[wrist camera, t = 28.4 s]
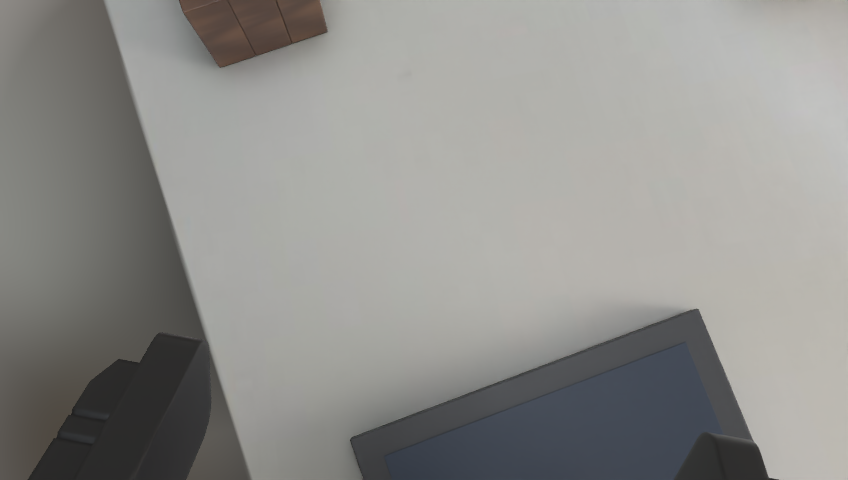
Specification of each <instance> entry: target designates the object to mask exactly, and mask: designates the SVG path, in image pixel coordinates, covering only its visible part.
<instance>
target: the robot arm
mask: <svg viewBox="0 0 848 480" xmlns="http://www.w3.org/2000/svg"><path fill="white" fill-rule="evenodd" d="M210 410H211V383H210V358H209V345H208V342H207V341H206V340H202V339H195V338H190V337H185V336H179V335H174V334H168V333H163V332H162V333H158V334H157V335H156V337H155V338H154V339H153V341H152V342H151V344H150V346H149V347H148V349H147V351H146V353H145V354H144V356H143V358H142V360H141V361H140V363H137V362H132V361H127V360H121V359H118V360H117V361H115V362H114V363H113V364H112V365H110V366H109V367H108V368H106V369H105V370H104V371H103V372H101V373H100V374H99V375H97V376H96V377H95V378H94V379H92V380H91V381H90V382H89V384H88V385H87V387H86V388H85V390H84V392H83V393H82V395H81V396H80V398H79V400H78V401H77V403H76V404H75V406H74V407H73V409H72V414H71V415H68V417H67V418H66V420H65V422H64V423H63V425H62V426H61V428H60V430H59V431H58V435H57V438H56V439H55V438H54V439H53V441H52V442H51V444H50V445H49V447H48V449H47V450H46V452H45V453H44V455H43V456H42V458H41V460H40V461H39V463H38V465H37V466H36V468H35V470H34V471H33V472H32V474H31V475H30V477H29V479H28V480H186V478H187V476H188V474H189V471H190V469H191V467H192V464H193V462H194V460H195V457H196V455H197V453H198V450H199V448H200V446H201V443H202V441H203V439H204V436H205V433H206V429H207V425H208V422H209V417H210ZM674 480H777V479H772V478H768V475H767V472H766V468H765V465H764V462H763V459H762V456H761V453H760V450H759V448H758V446H757V445H756V444H755V442H753V441H752V440H747V439H742V438H736V437H731V436H725V435H719V434H714V433H708V432H703V433H702V434H700V436H699V437H698V438H697V440H696V442H695V443H694V445H693V447H692V448H691V450H690V452H689V454H688V455H687V457H686V459H685V461H684V462H683V464H682V466H681V468H680V469H679V471H678V473H677V474H676V476H675V478H674Z"/></svg>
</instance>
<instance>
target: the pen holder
mask: <svg viewBox="0 0 848 480" xmlns="http://www.w3.org/2000/svg"><path fill="white" fill-rule="evenodd" d="M179 2H180V5H181V8H182V11H183V13H184V15H185V16H186V18H187V19H188V21H189V22H190V24H191V25H192V27H193V28H194V30H195V31H196V33H197V34H198V36H199V37H200V39H201V40H202V42H203V43H204V45H205V46H206V48H207V49H208V51H209V52H210V54H211V55H212V57H213V58H214V60H215V61H216V63H217V64H218V66H219V67H220V68H221V67H224V66H227V65H230V64H233V63H236V62H239V61H242V60H245V59H248V58H251V57H254V56H256V55H260V54H263V53H266V52H269V51H272V50H275V49H278V48H281V47H284V46H287V45H290V44H292V43H295V42H298V41H301V40H304V39H307V38H310V37H313V36H316V35H319V34H322V33H325V32H327V26H326V22H325V19H324V15H323V11H322V7H321V3H320V0H179Z"/></svg>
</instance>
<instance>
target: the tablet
mask: <svg viewBox="0 0 848 480" xmlns="http://www.w3.org/2000/svg"><path fill="white" fill-rule="evenodd" d="M703 432H708V433H714V434H719V435H725V436H731V437H736V438H742V439H747V440H752V441H753V439H752V436H751V434H750V431H749V429H748V427H747V424H746V422H745V419H744V417H743V415H742V412H741V410H740V407H739V405H738V403H737V400H736V398H735V396H734V393H733V391H732V388H731V386H730V384H729V381H728V379H727V376H726V374H725V372H724V369H723V367H722V364H721V362H720V360H719V357H718V355H717V353H716V350H715V348H714V345H713V343H712V341H711V338H710V336H709V333H708V331H707V329H706V326H705V324H704V321H703V319H702V317H701V314H700V312H699V310H698V309H694V310H690V311H687V312H684V313H682V314H679V315H676V316H674V317H671V318H668V319H666V320H663V321H660V322H658V323H655V324H652V325H650V326H647V327H644V328H642V329H639V330H636V331H634V332H631V333H628V334H626V335H623V336H620V337H618V338H615V339H612V340H610V341H607V342H604V343H602V344H599V345H596V346H594V347H591V348H588V349H586V350H583V351H580V352H578V353H575V354H572V355H570V356H567V357H564V358H562V359H559V360H556V361H554V362H551V363H548V364H546V365H543V366H540V367H538V368H535V369H532V370H530V371H527V372H525V373H522V374H519V375H517V376H514V377H511V378H509V379H506V380H503V381H501V382H498V383H495V384H493V385H490V386H487V387H485V388H482V389H479V390H477V391H474V392H471V393H469V394H466V395H463V396H461V397H458V398H455V399H453V400H450V401H447V402H445V403H442V404H439V405H437V406H434V407H431V408H429V409H426V410H423V411H421V412H418V413H415V414H413V415H410V416H407V417H405V418H402V419H399V420H397V421H394V422H391V423H389V424H386V425H383V426H381V427H378V428H375V429H373V430H370V431H367V432H365V433H362V434H359V435H357V436H354V437H352V438H351V439H350V441H351V444H352V447H353V450H354V453H355V456H356V459H357V462H358V465H359V468H360V470H361V473H362V476H363V479H364V480H674V478H675V476H676V474H677V473H678V471H679V469H680V468H681V466H682V464H683V462H684V461H685V459H686V457H687V455H688V454H689V452H690V450H691V448H692V447H693V445H694V443H695V442H696V440H697V438H698V437H699V436H700V434H702V433H703ZM753 442H754V441H753ZM767 475H768V474H767ZM768 478H769V477H768Z"/></svg>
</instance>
